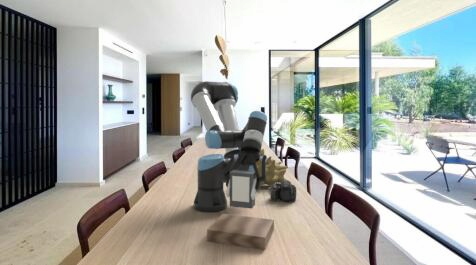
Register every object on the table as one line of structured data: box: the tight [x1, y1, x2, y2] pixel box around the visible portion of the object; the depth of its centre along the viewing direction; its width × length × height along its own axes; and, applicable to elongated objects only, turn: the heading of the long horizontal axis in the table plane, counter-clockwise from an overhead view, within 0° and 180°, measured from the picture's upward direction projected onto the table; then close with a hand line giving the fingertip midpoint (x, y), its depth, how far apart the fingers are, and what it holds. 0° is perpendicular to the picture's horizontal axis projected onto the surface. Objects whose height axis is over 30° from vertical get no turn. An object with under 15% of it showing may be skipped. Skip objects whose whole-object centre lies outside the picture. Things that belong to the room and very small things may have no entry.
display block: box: [206, 213, 275, 250], centre depth 108 cm, size 20×16×4 cm
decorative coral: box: [255, 148, 288, 187], centre depth 175 cm, size 26×22×25 cm
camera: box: [269, 179, 297, 202], centre depth 149 cm, size 13×10×10 cm
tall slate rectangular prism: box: [229, 170, 256, 210], centre depth 107 cm, size 8×5×12 cm, turn 73°
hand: (239, 196), depth 104 cm, fingers closed on tall slate rectangular prism, 8 cm apart
